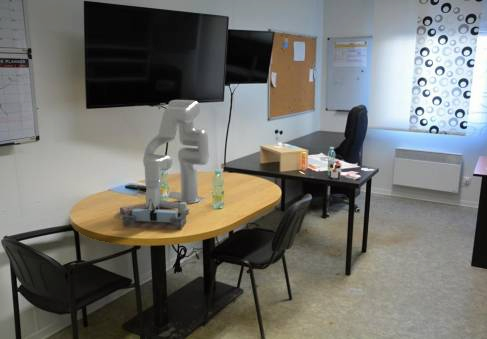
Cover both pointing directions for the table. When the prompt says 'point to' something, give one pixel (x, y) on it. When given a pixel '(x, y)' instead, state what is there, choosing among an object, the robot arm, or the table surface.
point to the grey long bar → (175, 206)
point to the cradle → (173, 224)
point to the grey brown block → (125, 209)
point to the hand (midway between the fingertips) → (155, 218)
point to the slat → (161, 215)
